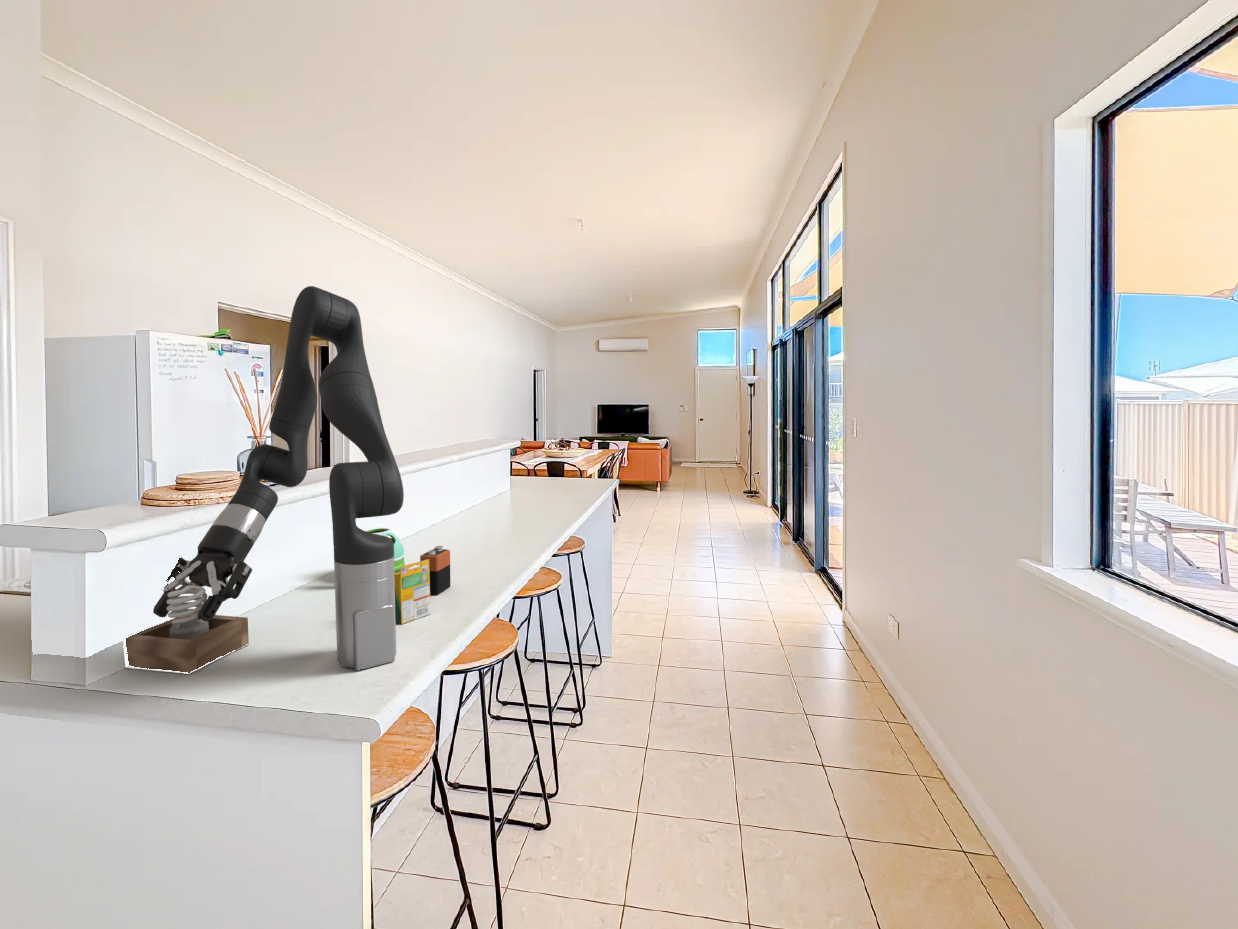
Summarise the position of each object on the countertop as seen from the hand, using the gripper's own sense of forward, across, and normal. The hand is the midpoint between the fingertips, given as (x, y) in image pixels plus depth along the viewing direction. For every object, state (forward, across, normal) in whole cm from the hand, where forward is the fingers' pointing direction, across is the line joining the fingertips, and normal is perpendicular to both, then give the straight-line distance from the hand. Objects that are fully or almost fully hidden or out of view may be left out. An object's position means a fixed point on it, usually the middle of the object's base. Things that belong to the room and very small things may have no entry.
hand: (180, 617), depth 98 cm
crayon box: (-13, +27, +23) cm, 38 cm away
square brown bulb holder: (+4, 0, +6) cm, 7 cm away
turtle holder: (-29, +4, +40) cm, 49 cm away
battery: (-25, +23, +36) cm, 50 cm away
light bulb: (+4, 0, +6) cm, 8 cm away
